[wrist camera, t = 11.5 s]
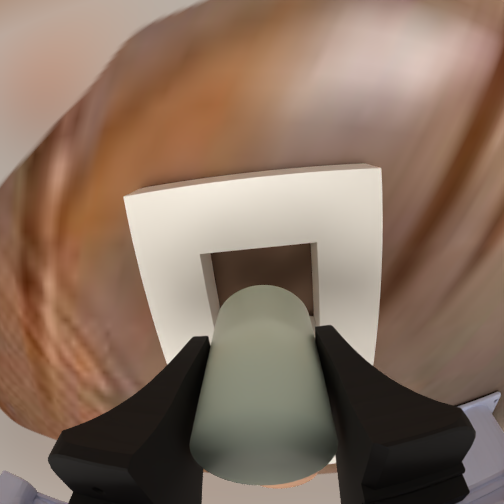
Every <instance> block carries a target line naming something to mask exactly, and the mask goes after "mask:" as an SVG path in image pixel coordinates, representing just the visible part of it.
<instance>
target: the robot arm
mask: <svg viewBox="0 0 504 504" xmlns="http://www.w3.org/2000/svg"><path fill="white" fill-rule="evenodd" d="M315 341H316V345H317V349H318V354H319V358H320V362H321V366H322V371H323V375H324V379H325V384H326V388H327V393H328V397H329V402H330V406H331V411H332V416H333V420H334V425H335V430H336V435H337V440H338V448H337V452H336V454H335V457H336V464H337V472H338V480H339V488H340V498H341V504H504V432H503V431H502V429H501V427H500V426H499V424H498V423H497V421H496V419H495V418H494V416H493V415H492V412H493V410H494V408H495V406H496V404H497V402H498V400H499V398H500V396H501V393H500V392H499V391H498V392H495V393H493V394H490V395H488V396H485V397H483V398H480V399H477V400H475V401H472V402H469V403H466V404H464V405H461V406H458V407H455V406H452V405H448V404H445V403H441V402H438V401H435V400H433V399H430V398H428V397H425V396H423V395H420V394H418V393H416V392H414V391H412V390H410V389H408V388H406V387H404V386H402V385H400V384H398V383H397V382H395V381H393V380H392V379H390V378H389V377H387V376H386V375H384V374H383V373H381V372H380V371H379V370H377V369H376V368H375V367H374V366H372V365H371V364H370V363H369V362H367V361H366V360H365V359H364V358H363V357H362V356H361V355H360V354H359V353H358V352H357V351H356V350H354V349H353V348H352V347H351V346H350V345H349V344H348V342H347V341H346V340H345V339H344V338H343V337H342V336H341V335H340V334H339V333H338V331H337V330H336V329H335V328H334V327H333V326H332V325H325V326H316V327H315ZM210 347H211V346H210V342H209V337H208V336H194V337H192V338H191V339H190V340H189V341H188V343H187V344H186V345H185V346H184V347H183V348H182V349H181V350H180V352H179V353H178V354H177V355H176V356H175V357H174V358H173V359H172V361H171V362H170V363H169V364H168V365H167V366H166V367H165V368H164V369H163V370H162V371H161V372H160V373H159V374H158V375H157V376H156V377H155V378H154V379H153V380H152V381H150V382H149V383H148V384H147V385H146V386H145V387H143V388H142V389H141V390H140V391H138V392H137V393H136V394H134V395H133V396H132V397H130V398H129V399H127V400H126V401H124V402H123V403H121V404H120V405H118V406H116V407H115V408H113V409H112V410H110V411H108V412H106V413H104V414H102V415H100V416H98V417H96V418H94V419H92V420H90V421H88V422H85V423H83V424H80V425H77V426H75V427H72V428H69V429H66V430H63V431H62V433H61V434H60V436H59V438H58V440H57V442H56V444H55V446H54V447H53V449H52V451H51V453H50V455H49V457H48V462H49V464H50V466H51V468H52V470H53V471H54V472H55V473H56V474H57V476H58V477H59V478H60V479H61V480H62V481H63V482H64V483H65V484H66V485H67V486H68V487H69V488H70V489H71V490H72V491H73V494H72V496H71V499H70V501H69V503H66V502H63V501H60V500H57V499H55V498H52V497H50V496H47V495H44V494H42V493H39V492H37V490H36V489H35V488H34V487H33V486H32V485H31V484H30V483H28V482H27V481H26V480H24V479H22V478H20V477H18V476H16V475H14V474H12V473H9V472H7V471H3V472H2V474H1V475H0V504H201V502H202V501H201V500H202V480H203V468H202V467H201V466H200V465H199V464H198V463H197V462H196V461H195V459H194V458H193V456H192V454H191V451H190V446H189V444H190V438H191V433H192V429H193V424H194V419H195V415H196V410H197V405H198V401H199V396H200V392H201V387H202V382H203V378H204V373H205V369H206V364H207V360H208V355H209V351H210Z"/></svg>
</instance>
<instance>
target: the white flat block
mask: <svg viewBox="0 0 504 504" xmlns="http://www.w3.org/2000/svg"><path fill="white" fill-rule="evenodd" d="M124 202H125V207H126V212H127V217H128V222H129V227H130V231H131V236H132V240H133V245H134V249H135V253H136V258H137V262H138V266H139V270H140V274H141V278H142V281H143V285H144V289H145V293H146V296H147V300H148V304H149V307H150V311H151V314H152V318H153V321H154V324H155V328H156V331H157V334H158V337H159V341H160V344H161V347H162V350H163V353H164V356H165V359H166V362H167V365H168V364H169V363H170V362H171V361H172V359H173V358H174V357H175V356H176V355H177V354H178V353H179V352H180V350H181V349H182V348H183V347H184V346H185V345H186V344H187V343H188V341H189V340H190V339H191V338H192V337H194V336H208V337H209V342H210V346H211V342H212V338H213V333H214V329H215V325H216V320H217V316H218V313H219V310H220V305H219V299H218V294H217V288H216V283H215V277H214V271H213V266H212V260H211V254H210V253H215V252H225V251H235V250H245V249H255V248H265V247H275V246H285V245H295V244H305V243H310V244H311V262H312V283H313V310H314V316H310V320H311V324H312V328H313V332H314V337H315V327H316V326H325V325H332V326H333V327H334V328H335V329H336V330H337V331H338V333H339V334H340V335H341V336H342V337H343V338H344V339H345V340H346V341H347V342H348V344H349V345H350V346H351V347H352V348H353V349H354V350H356V351H357V352H358V353H359V354H360V355H361V356H362V357H363V358H364V359H365V360H366V361H367V362H369V363H370V364H371V365H372V366H373V363H374V355H375V346H376V337H377V327H378V316H379V304H380V289H381V270H382V231H383V213H382V174H381V168H379V167H376V166H373V165H369V164H365V163H360V164H342V165H326V166H312V167H300V168H288V169H278V170H268V171H258V172H249V173H240V174H232V175H224V176H216V177H209V178H202V179H195V180H188V181H181V182H175V183H168V184H162V185H156V186H150V187H144V188H140V189H138V190H136V191H134V192H132V193H130V194H128V195H126V196H124ZM333 463H336V457H335V456H334V457H333V459H332V460H331V461H330V462H329V463H328V464H333Z"/></svg>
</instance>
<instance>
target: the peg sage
mask: <svg viewBox="0 0 504 504" xmlns="http://www.w3.org/2000/svg"><path fill="white" fill-rule="evenodd" d="M189 446H190V451H191V454H192V456H193V458H194V459H195V461H196V462H197V463H198V464H199V465H200V466H201V467H202V468H204V469H205V470H206V471H208V472H210V473H211V474H213V475H215V476H217V477H220V478H222V479H225V480H228V481H232V482H236V483H241V484H247V485H278V484H285V483H290V482H294V481H297V480H301V479H303V478H306V477H308V476H310V475H313V474H315V473H316V472H318V471H320V470H321V469H322V468H324V467H325V466H326V465H327V464H328V463H329V462H330V461H331V460H332V459H333V457H334V456H335V454H336V452H337V448H338V440H337V435H336V430H335V425H334V420H333V416H332V411H331V406H330V402H329V397H328V393H327V388H326V384H325V379H324V375H323V371H322V366H321V362H320V358H319V354H318V349H317V345H316V341H315V337H314V332H313V328H312V324H311V320H310V316H309V313H308V310H307V308H306V306H305V305H304V303H303V302H302V301H301V300H300V299H299V298H298V297H297V296H296V295H295V294H293V293H291V292H290V291H288V290H286V289H283V288H280V287H277V286H272V285H256V286H251V287H247V288H244V289H242V290H239V291H238V292H236V293H234V294H233V295H232V296H230V297H229V298H228V299H227V300H226V301H225V302H224V304H223V305H222V307H221V308H220V310H219V313H218V316H217V320H216V325H215V329H214V333H213V338H212V342H211V347H210V351H209V355H208V360H207V364H206V369H205V373H204V378H203V382H202V387H201V392H200V396H199V401H198V405H197V410H196V415H195V419H194V424H193V429H192V433H191V438H190V444H189Z"/></svg>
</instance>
